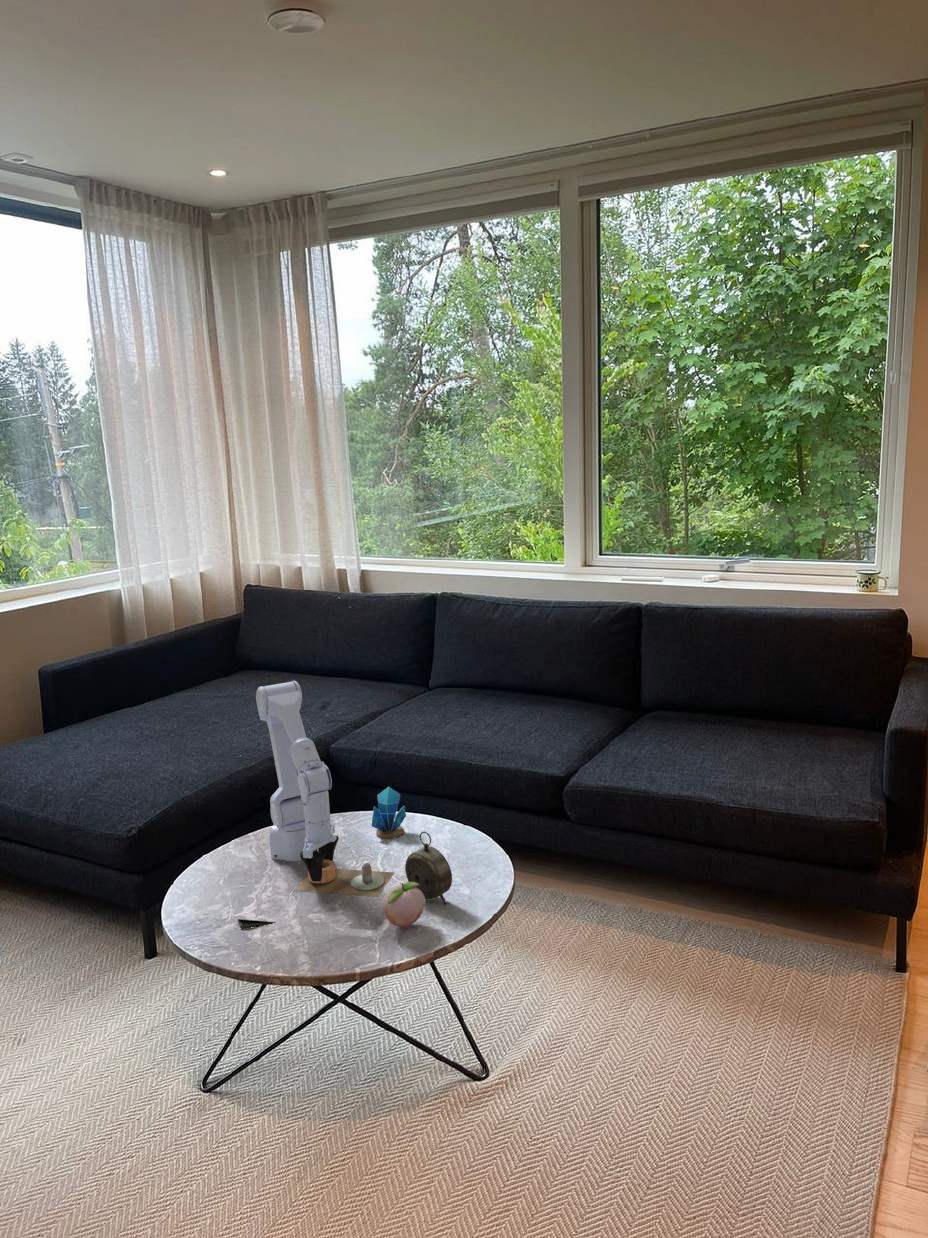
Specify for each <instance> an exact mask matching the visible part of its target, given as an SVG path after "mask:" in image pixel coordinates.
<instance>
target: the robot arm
mask: <svg viewBox="0 0 928 1238" xmlns="http://www.w3.org/2000/svg"><path fill="white" fill-rule="evenodd" d="M255 700H256V701H255V702H256V707H257V712H258V716H259V720H260V721H264V722H266V724H267V727H268V732H269V736H270V737H269V738H270V742H271V747H272V748H271V749H272V753H273V754H272V755H273V759H274V766H275V770H276V775H277V780H278V781H277V782H278V788H277V789H276V791H275V792H274V793H273V794H272V795H271V797H270V798H269V799H270V800H269V804H270V805H269V806H270V818H271V821H272V823H273V825H272V826H271V829H270V831H269V849H270V859H271V860H278V861H279V860H280V861H281V860H282V861H286V862H301V861H302V862H303V863H304V865H305V867H306V869H307V872H308V871H309V874H310V877H311V880H312V881H321V878H322V866H323V860H324V859H325V860H331V861H333V862H334V857H335V850H336V847H337V844H338V842H339V839H340V838H339V835H334V833H335V832H336V829H335V828H336V827H335V824H333V823H331V811H330V798H329V797H330V796H329V791H330V790H331V789H332V787H333V781H332V776H331V771H330V769H329V767H328V766H327V765H326V764H325V762H324V761H323V760H322V761H321V758H320V756H319V753H318V751H317V748H316V746H315V743H314V741H313V740H312V739H311V738H308V737H307V735H306V734H307V733H306V731H305V727H304V723H303V720H302V716H301V712H300V710H301V707H302V701H303V693H302V688H301V685H300V684H299V683H298V682H297V681H296V680H291V681H287V682H283V683H276V684H271V685H264V686H262V685H261V686H259V687H258V688H257V690H256V692H255Z"/></svg>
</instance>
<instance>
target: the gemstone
mask: <svg viewBox="0 0 928 1238" xmlns="http://www.w3.org/2000/svg"><path fill="white" fill-rule="evenodd" d="M400 799H401V793H399V792H398V791H396V790H394V789H393V788H391V787H390V786H387V787H386V788H385V789H383V790H381V792H380V793H378V794H377V803H378V808H377V807H376V806H375V805H373V810H372V818H371V828H374V829H376V831H375V834H376V836H377V837H378V838H381V839H385V840H387V839H388V840H390V839H397V838H399V837H402V835H404V832H405V829H404V827H403V826H401V825H402V823H403V822H404V820H405V819H406V818H407V815H406V806H405V805H403V806H402V807H401V808H400V809H399V811H398V807H399V804H400ZM397 811H398V812H397Z"/></svg>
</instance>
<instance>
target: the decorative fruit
mask: <svg viewBox="0 0 928 1238" xmlns="http://www.w3.org/2000/svg"><path fill="white" fill-rule="evenodd" d="M417 886H420V885H419V884H418V883H416V882H408V881H407V882H406V883H404V882H402V883H401V884H400V885H396V886H394V887H392V888H391V889H390V890H389V891H387V893H385V895H384V896H383V899H382V906H381V907H382V911H383V914H384V916H385V918H386V919H387V921H388V922H389V923H390V924H392V926H395V927H397V928H402V929H407V928H409V927H411V926H412V925H414V924H415V923H416V922H418V920H419V919H420V917H421V915H422V914H423V912H424V910H425V907H426V899H425V896H424V894H423V893H422V891H421V890H420V889H418V888H417Z"/></svg>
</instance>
